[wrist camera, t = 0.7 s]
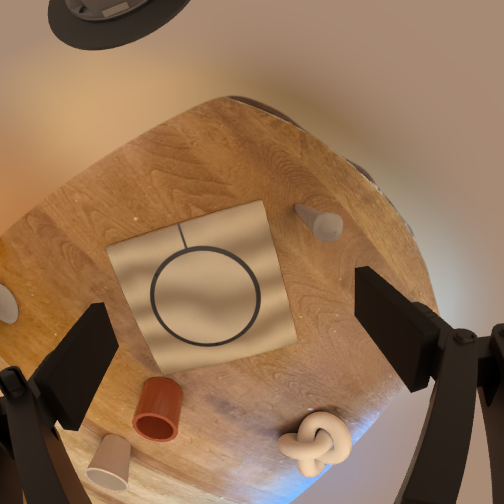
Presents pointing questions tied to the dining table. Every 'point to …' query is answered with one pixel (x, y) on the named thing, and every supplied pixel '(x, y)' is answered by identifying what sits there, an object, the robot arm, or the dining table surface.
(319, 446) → the beige decorative knot
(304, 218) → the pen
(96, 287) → the dining table surface
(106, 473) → the dixie cup
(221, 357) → the drawing board
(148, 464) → the dining table surface
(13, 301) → the wineglass
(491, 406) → the robot arm
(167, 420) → the pen pot
